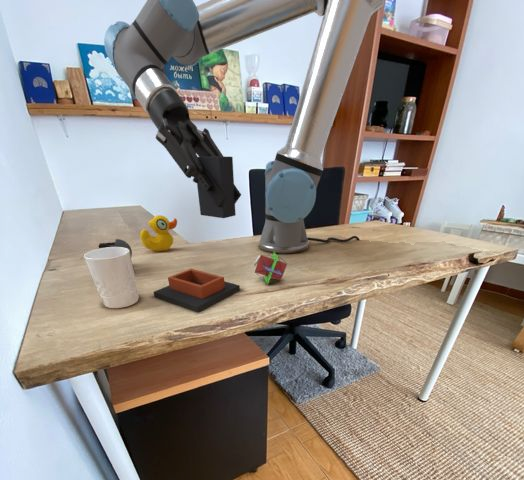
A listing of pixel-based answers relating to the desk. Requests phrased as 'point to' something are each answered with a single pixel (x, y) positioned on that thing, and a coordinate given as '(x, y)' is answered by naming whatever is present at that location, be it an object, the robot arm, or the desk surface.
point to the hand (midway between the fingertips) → (229, 200)
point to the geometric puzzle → (270, 267)
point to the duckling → (163, 236)
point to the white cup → (113, 276)
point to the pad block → (224, 177)
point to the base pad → (196, 289)
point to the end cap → (116, 245)
